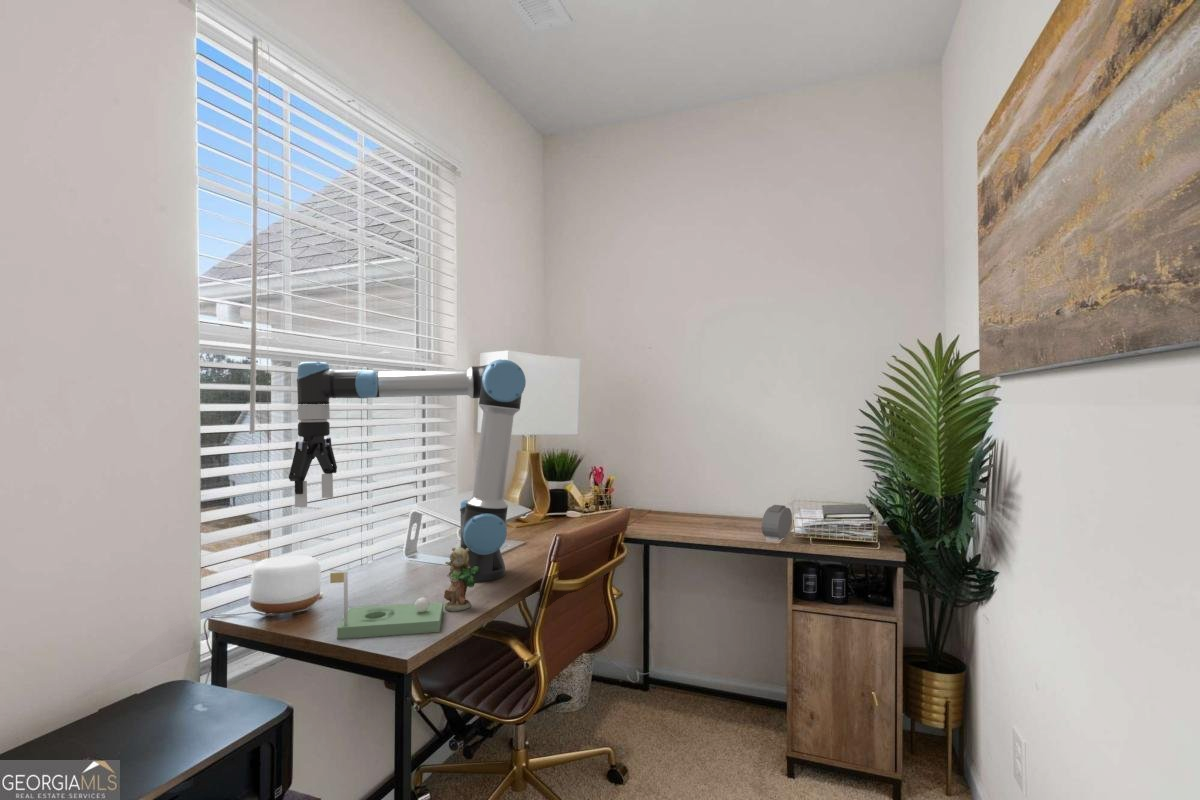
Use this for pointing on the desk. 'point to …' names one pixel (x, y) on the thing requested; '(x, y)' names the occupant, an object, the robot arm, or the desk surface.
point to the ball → (421, 605)
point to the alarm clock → (776, 522)
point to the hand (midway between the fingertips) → (314, 502)
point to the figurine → (459, 580)
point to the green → (390, 620)
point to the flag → (341, 578)
